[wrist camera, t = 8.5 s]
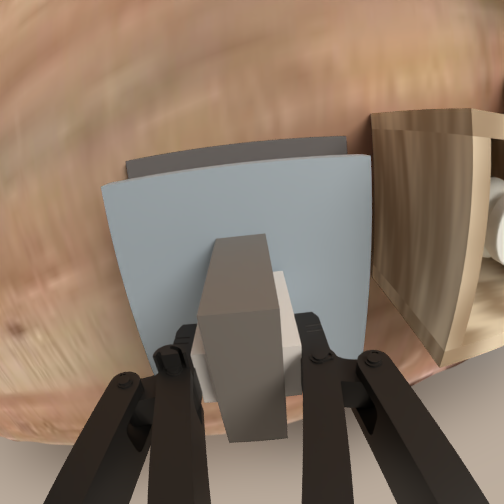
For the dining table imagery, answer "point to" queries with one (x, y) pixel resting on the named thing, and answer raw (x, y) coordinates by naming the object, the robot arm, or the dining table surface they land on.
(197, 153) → the mat
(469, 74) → the dining table surface
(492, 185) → the pill bottle
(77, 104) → the dining table surface
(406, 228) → the box
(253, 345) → the lid
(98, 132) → the dining table surface
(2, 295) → the dining table surface
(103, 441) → the robot arm
